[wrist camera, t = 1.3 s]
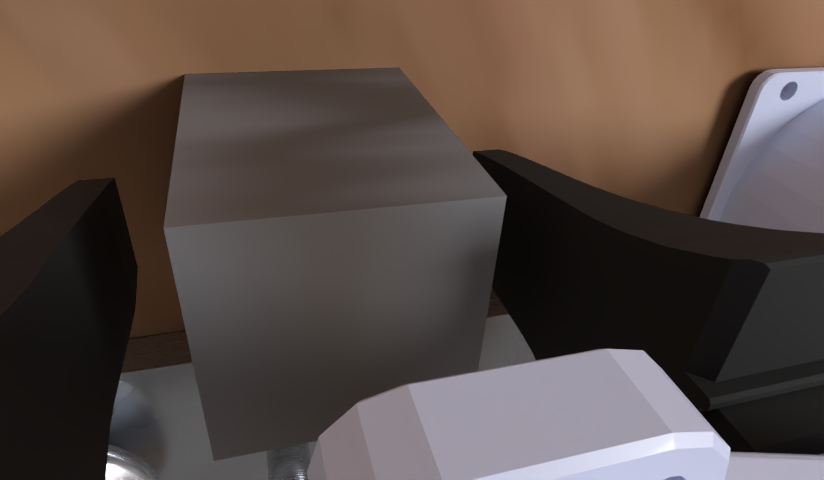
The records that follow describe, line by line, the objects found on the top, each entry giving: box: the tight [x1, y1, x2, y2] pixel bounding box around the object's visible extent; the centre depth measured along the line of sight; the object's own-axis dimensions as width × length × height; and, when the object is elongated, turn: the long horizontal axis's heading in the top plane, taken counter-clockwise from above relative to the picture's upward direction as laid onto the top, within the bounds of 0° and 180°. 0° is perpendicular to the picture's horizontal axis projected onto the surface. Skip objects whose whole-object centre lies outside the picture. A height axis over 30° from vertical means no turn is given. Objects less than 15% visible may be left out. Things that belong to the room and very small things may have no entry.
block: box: [164, 68, 507, 461], centre depth 11 cm, size 4×4×6 cm
